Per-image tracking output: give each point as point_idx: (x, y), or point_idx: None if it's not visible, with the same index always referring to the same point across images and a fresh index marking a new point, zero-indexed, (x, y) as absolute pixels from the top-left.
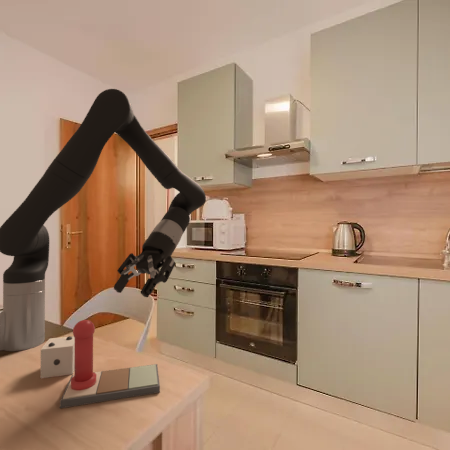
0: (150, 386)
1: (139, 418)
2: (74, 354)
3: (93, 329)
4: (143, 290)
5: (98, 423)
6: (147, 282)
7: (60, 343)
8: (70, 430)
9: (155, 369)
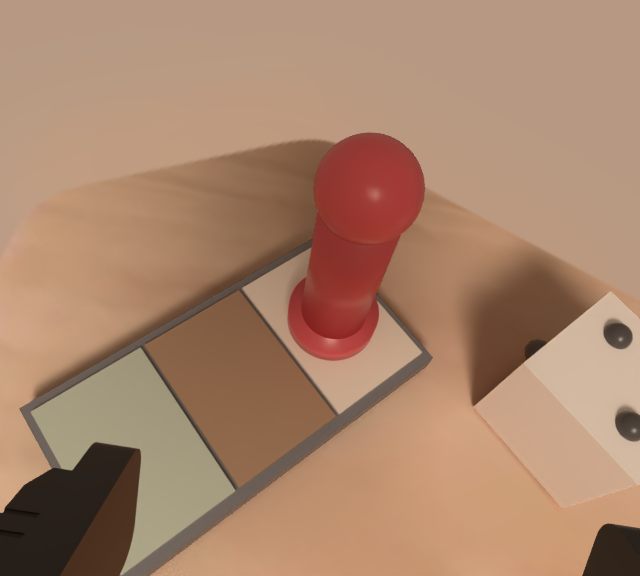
0: (59, 393)
1: (46, 281)
2: (527, 415)
3: (317, 195)
4: (90, 450)
5: (161, 234)
6: (40, 547)
7: (607, 368)
8: (217, 197)
9: None
